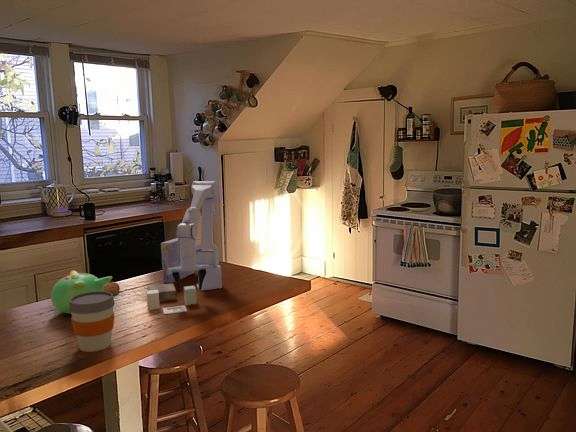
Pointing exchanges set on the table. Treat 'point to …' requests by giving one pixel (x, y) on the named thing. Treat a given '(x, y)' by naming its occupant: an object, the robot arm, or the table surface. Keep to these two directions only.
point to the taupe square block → (164, 291)
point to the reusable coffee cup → (92, 319)
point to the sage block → (190, 295)
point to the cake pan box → (171, 260)
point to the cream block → (153, 299)
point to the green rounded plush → (75, 288)
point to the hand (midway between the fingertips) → (189, 290)
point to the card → (174, 309)
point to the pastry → (111, 287)
